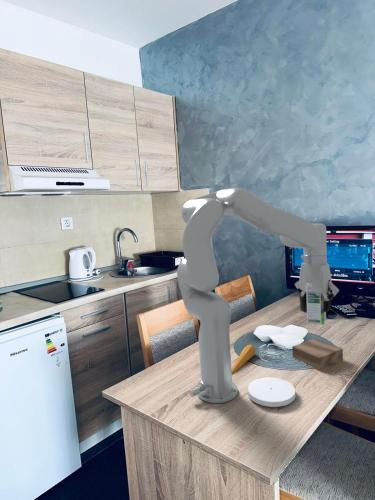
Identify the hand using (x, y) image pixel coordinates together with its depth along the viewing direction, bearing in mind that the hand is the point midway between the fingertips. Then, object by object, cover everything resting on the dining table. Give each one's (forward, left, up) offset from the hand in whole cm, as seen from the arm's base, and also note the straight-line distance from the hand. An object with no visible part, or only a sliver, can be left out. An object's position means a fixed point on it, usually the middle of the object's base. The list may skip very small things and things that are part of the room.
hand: (316, 308), depth 125 cm
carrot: (-21, +18, -20) cm, 34 cm away
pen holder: (+47, +33, -19) cm, 61 cm away
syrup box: (0, 0, -5) cm, 5 cm away
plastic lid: (-30, -3, -20) cm, 36 cm away
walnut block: (0, 0, -19) cm, 19 cm away
